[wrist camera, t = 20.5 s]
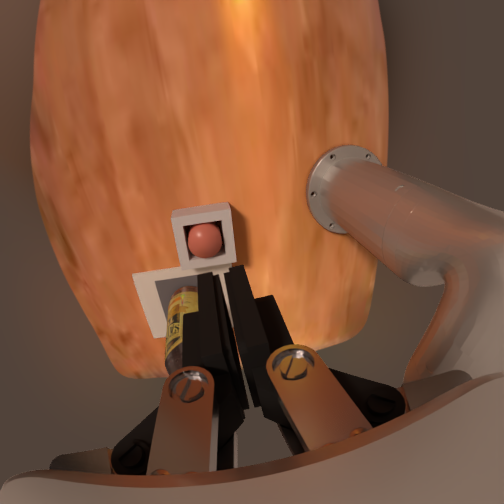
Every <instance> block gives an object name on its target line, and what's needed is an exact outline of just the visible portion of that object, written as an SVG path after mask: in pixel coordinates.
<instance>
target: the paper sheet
mask: <svg viewBox="0 0 504 504" xmlns="http://www.w3.org/2000/svg"><path fill="white" fill-rule="evenodd" d="M230 267H232V264H231V263H227V264H221V265H214V266H208V267H201V268H195V269H188V270H181V266H180V267H173V268H167V269H160V270H154V271H147V272H141V273H134V274H132V277H133V280H134V283H135V286H136V289H137V292H138V295H139V298H140V301H141V304H142V307H143V310H144V313H145V315H146V318H147V321H148V324H149V326H150V329H151V332H152V334H153V337H154V338H161V337H166V332H167V318H168V306H169V303H170V300H171V296H172V295H173V294H174V292H175V291H176V290H178V289H179V288H181V287H184V286H196V287H197V275H198V274H203V273H207V272H213V275H217V274H219V277H220V281H221V285H222V289H223V293H224V297H225V301H226V305H227V309H228V313H229V317H230V320H231V324H232V327H234V326H233V321H232V316H231V311H230V305H229V300H228V295H227V290H226V284H225V279H224V273H226V272H229V268H230Z"/></svg>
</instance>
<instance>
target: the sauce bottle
mask: <svg viewBox="0 0 504 504" xmlns="http://www.w3.org/2000/svg"><path fill="white" fill-rule="evenodd" d="M196 311H198V287H196V286H184V287H181V288H179V289H178V290H176V291H175V292H174V294H173V295H172V296H171V300H170V303H169V306H168V318H167V332H166V348H165V367H166V369H167V371H168V374H169V376H170V375H171V374H172V373H173V372H175V371H176V370H178V369H181V368H182V330H183V314H186V313H191V312H196Z"/></svg>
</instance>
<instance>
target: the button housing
mask: <svg viewBox="0 0 504 504" xmlns="http://www.w3.org/2000/svg"><path fill="white" fill-rule="evenodd" d="M219 220H221V228H222V236H223V243H224V245H222V246H221V249H220V251H219V252H218V253H217V254H216V255H214V256H213V257H210V258H200V257H197V256H195V255H194V254H193V253H192V252H191V251H190V250H189V246H188V239H187V234H186V228H185V226H187V225H193V224H199V223H206V222H213V221H219ZM171 221H172V226H173V231H174V236H175V241H176V246H177V251H178V256H179V260H180V265H181V270H188V269H195V268H201V267H208V266H214V265H221V264H227V263H234V262H237V261H236V252H235V243H234V234H233V225H232V216H231V208H230V206H229V203H228V202H223V203H216V204H209V205H203V206H196V207H190V208H183V209H177V210H173V211H172V216H171Z"/></svg>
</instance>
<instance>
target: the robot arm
mask: <svg viewBox="0 0 504 504" xmlns="http://www.w3.org/2000/svg"><path fill="white" fill-rule="evenodd" d="M330 156H332V157H331V158H330ZM312 192H313V194H311V193H312ZM306 199H307V204H308V207H309V210H310V212H311V214H312V216H313V217H314V219H315V220H316V221H317V222H318V223H319V224H320V225H322V226H323V227H324V228H325V229H327V230H329V231H332V232H335V233H343V234H345V233H349V234H350V235H351V236H352V237H353V238H355V239H356V240H357V241H358V242H359V243H360V244H362V245H363V246H364V247H365V248H366V249H367V250H369V251H370V252H371V253H372V254H373V255H374V256H375V257H377V258H378V259H379V260H380V261H381V262H382V263H383V264H384V265H386V266H387V267H388V268H389V269H390V270H391V271H392V272H394V273H395V274H396V275H397V276H398V277H399V278H401V279H402V280H403V281H405V282H407V283H409V284H412V285H415V286H435V285H439V284H444V283H445V288H444V292H443V295H442V297H441V300H440V302H439V304H438V307H437V310H436V312H435V314H434V316H433V318H432V320H431V322H430V324H429V326H428V328H427V330H426V332H425V333H424V335H423V337H422V339H421V341H420V342H419V344H418V346H417V348H416V350H415V352H414V353H413V355H412V357H411V359H410V361H409V363H408V365H407V368H406V371H405V374H404V379H403V384H402V385H401V387H398V388H394V387H391V386H389V385H385V384H382V383H378V382H374V381H371V380H367V379H364V378H360V377H357V376H353V375H350V374H347V373H343V372H340V371H337V370H334V369H330V368H328V367H327V366H326V365H325V363H324V362H323V360H322V359H321V358H320V356H319V355H318V354H317V353H316V352H315V351H314V350H313V349H311V348H309V347H307V346H304V345H299V344H294V343H293V341H292V339H291V336H290V334H289V332H288V329H287V327H286V324H285V322H284V320H283V317H282V315H281V313H280V310H279V308H278V305H277V303H276V301H275V298H274V296H273V295H269V296H265V297H261V298H256V299H254V297H253V294H252V290H251V287H250V284H249V281H248V278H247V275H246V272H245V269H244V265H240V266H235V267H230V268H229V272H226V273H224V279H225V284H226V290H227V295H228V300H229V305H230V311H231V316H232V321H233V326H234V331H235V336H236V341H237V345H238V350H239V354H240V358H241V361H242V365H243V368H244V372H245V376H246V379H247V383H248V386H249V390H250V393H251V397H252V400H253V403H254V407H259V406H261V407H262V411H263V415H264V417H265V418H267V419H269V420H272V421H274V422H276V423H277V426H278V428H279V430H280V432H281V434H282V436H283V438H284V440H285V442H286V444H287V446H288V448H289V450H290V452H291V453H292V455H293V456H291V457H287V458H283V459H279V460H274V461H270V462H265V463H261V464H256V465H251V466H246V467H239V468H238V467H237V466H238V465H237V431H236V430H237V429H238V428H239V426H240V425H241V424H242V423H243V422H244V420H243V419H245V414H244V410H245V409H249V404H248V399H247V395H246V390H245V385H244V380H243V376H242V371H241V366H240V361H239V356H238V351H237V347H236V342H235V337H234V332H233V328H232V324H231V320H230V317H229V313H228V309H227V305H226V301H225V297H224V293H223V289H222V285H221V281H220V277H219V274H217V275H213V272H207V273H203V274H198V275H197V287H198V311H196V312H191V313H186V314H183V330H182V368H181V369H178V370H176V371H175V372H173V373H172V374H171V375H170V376H169V377H168V378H167V379H166V381H165V383H164V385H163V389H162V394H161V399H160V403H159V406H158V407H157V408H156V409H155V410H154V411H153V412H152V413H151V414H150V415H148V416H147V417H146V418H145V419H144V420H143V421H142V422H141V423H140V424H139V425H138V426H136V427H135V428H134V429H133V430H132V431H131V432H130V433H129V434H128V435H126V436H125V437H124V438H123V439H122V440H121V441H120V442H119V443H118V444H117V445H116V446H115V447H114V448H113V449H109V448H108V447H104V448H99V449H93V450H88V451H82V452H76V453H70V454H62V455H59V456H57V457H55V458H54V459H53V460H52V462H51V464H50V467H49V469H44V470H43V469H42V470H33V471H27V472H23V473H20V474H17V475H15V476H13V477H11V478H9V479H8V480H7V481H6V482H5V483H4V485H3V486H2V489H1V491H0V504H504V212H502V211H499V210H496V209H492V208H490V207H487V206H484V205H481V204H478V203H475V202H473V201H470V200H468V199H465V198H463V197H460V196H458V195H455V194H453V193H451V192H448V191H446V190H443V189H441V188H439V187H437V186H434V185H431V184H429V183H427V182H424V181H422V180H419V179H417V178H414V177H412V176H409V175H407V174H404V173H401V172H399V171H395V170H393V169H390V168H387V167H385V166H382V164H381V162H380V161H379V160H378V158H377V157H376V156H375V155H374V154H373V153H372V152H370V151H369V150H367V149H365V148H362V147H359V146H355V145H342V146H338V147H335V148H333V149H331V150H329V151H327V152H326V153H325V154H323V155H322V156H321V157H320V158H319V159H318V160H317V162H316V163H315V165H314V166H313V168H312V169H311V172H310V174H309V177H308V181H307V185H306Z"/></svg>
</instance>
